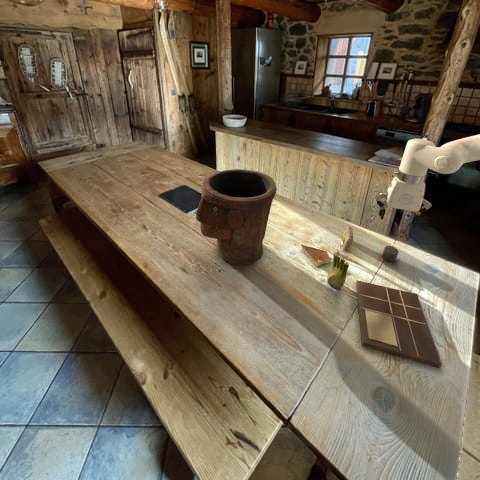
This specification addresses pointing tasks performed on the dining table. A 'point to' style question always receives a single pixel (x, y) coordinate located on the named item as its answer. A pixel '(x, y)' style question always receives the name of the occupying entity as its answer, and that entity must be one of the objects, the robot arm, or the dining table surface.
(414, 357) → the game board
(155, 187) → the dining table surface
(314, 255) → the shard
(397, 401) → the dining table surface
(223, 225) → the clay pot
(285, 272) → the dining table surface
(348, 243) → the tan figurine
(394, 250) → the slate stone
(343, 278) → the fennel bulb
